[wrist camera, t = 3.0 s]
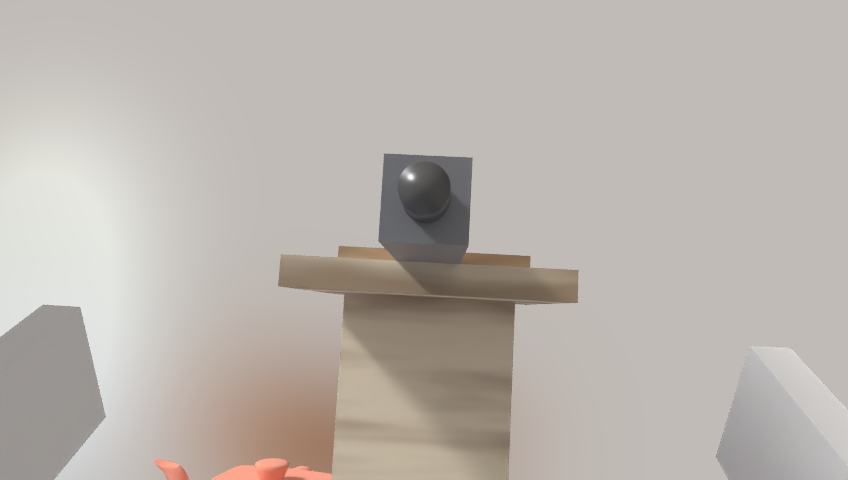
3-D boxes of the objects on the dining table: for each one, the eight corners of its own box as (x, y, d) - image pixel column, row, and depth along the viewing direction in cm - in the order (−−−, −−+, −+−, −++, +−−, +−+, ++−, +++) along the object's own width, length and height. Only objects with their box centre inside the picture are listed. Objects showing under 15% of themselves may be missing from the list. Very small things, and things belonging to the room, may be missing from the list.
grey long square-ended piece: (474, 238, 17) (479, 134, 18) (368, 233, 17) (375, 130, 18) (454, 279, 41) (457, 234, 42) (409, 276, 41) (412, 231, 42)
